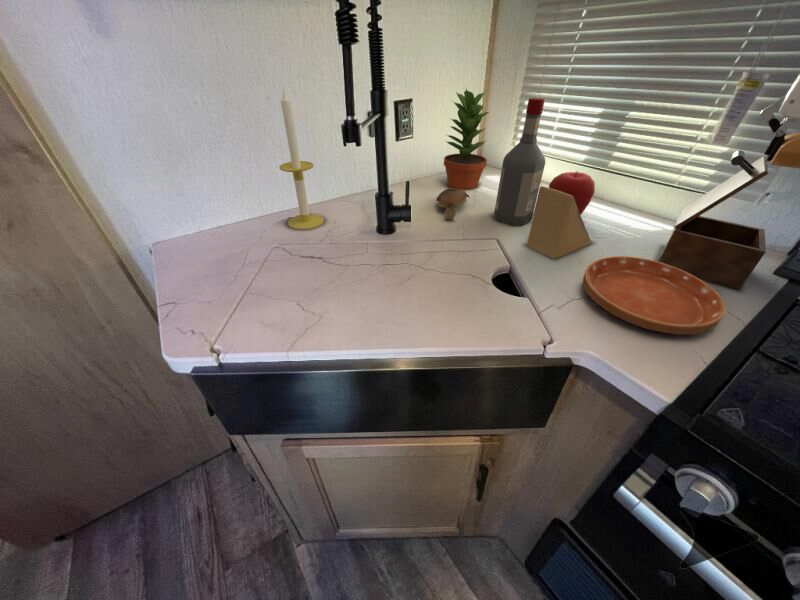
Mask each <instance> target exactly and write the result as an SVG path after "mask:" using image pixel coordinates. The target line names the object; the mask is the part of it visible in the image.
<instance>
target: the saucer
mask: <svg viewBox="0 0 800 600" xmlns="http://www.w3.org/2000/svg"><path fill="white" fill-rule="evenodd" d="M582 283H583V287H584V289H585V291H586V292H587V294H588V295H589V297H590V298H591V299H592V300H593V301H594V302H595V303H596V304H597V305H599V306H600V307H602V308H603V309H604V310H605V311H607V312H609V313H610V314H612V315H613V316H615V317H616V318H619V319H620V320H623V321H625V322H627V323H628V324H632V325H635V326H636V327H640V328H643V329H647V330H649V331H650V330H651V331H654V332H655V331H656V332H661V333H665V334H673V335H694V334H700V333H701V334H702V333H706V332H708V331H710V330H712V329H714V328H715V327H716V326H717V325H718V324H719V323H720V321H721V320H722V319H723V318H724V316H725V314H726V304H725V301H724V299H723V298H722V296H721V295H720V294H719V293H718V292H717V291H716V290H715V288H713V287H712V286H711V285H710V284H708V283H707V282H706V281H704V280H701V279H699V278H697V277H695V276H693V275H692V274H690V273H688V272H685V271H683V270H681V269H678V268H676V267H673V266H670V265H667V264H664V263H661V262H658V261H656V260H653V259H648V258H643V257H637V256H626V255H625V256H623V255H618V256H608V257H602V258H599V259H596V260H595V261H592V262H591V263H589V264H588V266H587V267H586V269H585V271H584V274H583V278H582Z"/></svg>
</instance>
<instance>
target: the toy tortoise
mask: <svg viewBox="0 0 800 600" xmlns="http://www.w3.org/2000/svg"><path fill="white" fill-rule="evenodd" d="M467 198H471V196H470V195H469V194H467V192H466V190H463V189H455V188H452V187H449V188H447V189H444V190H443V191H441V192H440V193H439V194H438V195H437V197H436V199H435V201H436V202H437V203H436V206H438V207H440V208H445V211H444V220H446V221H453V220H454V218H455V216H456V208H457V207H458V206H461V205H464V204H466V203H467V202H468V200H467Z"/></svg>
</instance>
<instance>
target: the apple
mask: <svg viewBox="0 0 800 600" xmlns="http://www.w3.org/2000/svg"><path fill="white" fill-rule="evenodd" d="M595 185H596V184H595V180H594V179H593V178H592V177H591V175H589V174H588V173H585V172H580V171H578V170H576V171H568V172H562V173H559V174H558V175H557V176H555V177H553V179H552V180H551V181H550V182H549V184H548V188H551V189H555V190H558V191H561V192H564V193H566V194H569V195H572V196H573V197H574V200H575V203H576V206H577V208H578V211H579V214H580V216H581V215H582V214H583V213H584V211H585V210H586V209H587V208H588V206H589V205H590V203H591V201H592V199H593V196H594V194H595V193H596V191H595V190H596V186H595Z"/></svg>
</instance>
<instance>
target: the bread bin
mask: <svg viewBox="0 0 800 600" xmlns="http://www.w3.org/2000/svg"><path fill="white" fill-rule="evenodd" d="M766 247H767V246H766V231H765V228H759V227H755V226H750V225H745V224H739V223H735V222H730V221H726V220H721V219H715V218H712V217H707V216H701V215H700V216H698V217H697V218H695V219H693V220H692V221H690V222H688V223H687V224H685V225H683V226H682V227H680V228H679V229H675V228H674V227H673V230H672V231H671V233H670V235H669V237H668V239H667V241H666V243H665V245H664V246H663V249H662V252H661V253H660V256H659V259H658V261H657V262H661V263H664V264H667V265H670V266H673V267H676V268H678V269H681V270H683V271H685V272H688V273H690V274H692V275H693V276H695V277H697V278H699V279H701V280H702V281H704V282H709V283H711V284H715V285H719V286H722V287H726V288H729V289H733V290H736V291H740V289H741V288H742V287H743V285H744V284H745V282H746V281H747V280H748V279H749V277H750V275H752V273H753V271H754V270H755V269H756V267H757V265H758V264H759V263H760V261H761V260H762V258H763V257H764V256H765V254H766V253H767V249H766Z"/></svg>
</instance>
